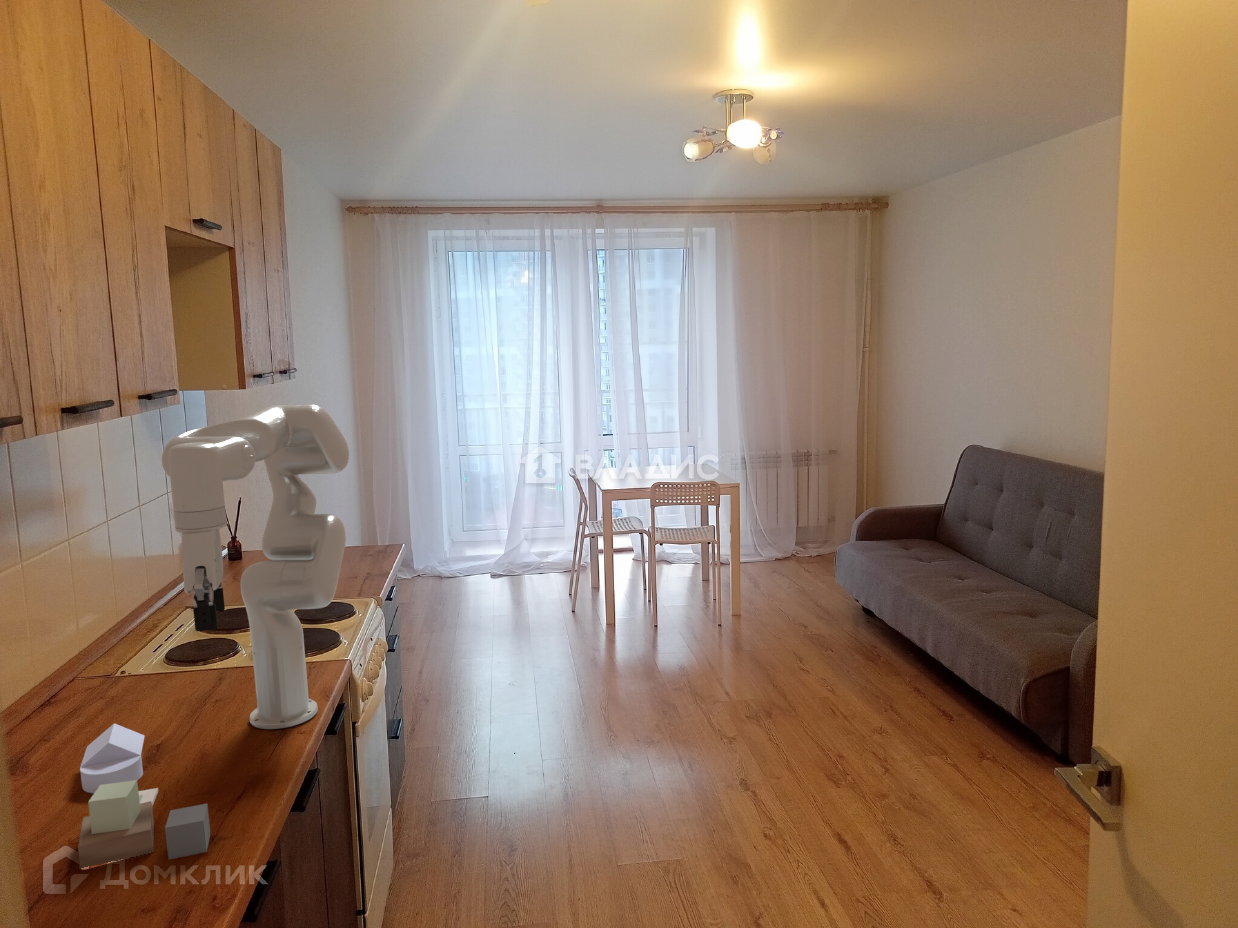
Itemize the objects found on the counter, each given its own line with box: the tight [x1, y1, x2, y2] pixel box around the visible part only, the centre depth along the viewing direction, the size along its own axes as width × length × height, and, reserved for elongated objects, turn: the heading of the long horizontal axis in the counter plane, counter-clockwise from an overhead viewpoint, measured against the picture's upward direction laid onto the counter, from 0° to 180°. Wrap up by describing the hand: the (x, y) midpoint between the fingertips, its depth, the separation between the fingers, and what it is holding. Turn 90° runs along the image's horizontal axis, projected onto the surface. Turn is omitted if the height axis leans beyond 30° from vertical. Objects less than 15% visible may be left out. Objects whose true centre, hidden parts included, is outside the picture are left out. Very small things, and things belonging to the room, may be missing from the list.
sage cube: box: [88, 780, 140, 834], centre depth 127 cm, size 5×5×5 cm
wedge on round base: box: [79, 723, 145, 794], centre depth 148 cm, size 9×7×13 cm
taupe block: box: [77, 801, 155, 869], centre depth 127 cm, size 9×9×4 cm
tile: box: [138, 787, 159, 808], centre depth 138 cm, size 7×7×1 cm
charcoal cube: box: [164, 803, 211, 860], centre depth 126 cm, size 5×5×5 cm
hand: (210, 620), depth 141 cm, fingers open, 9 cm apart
